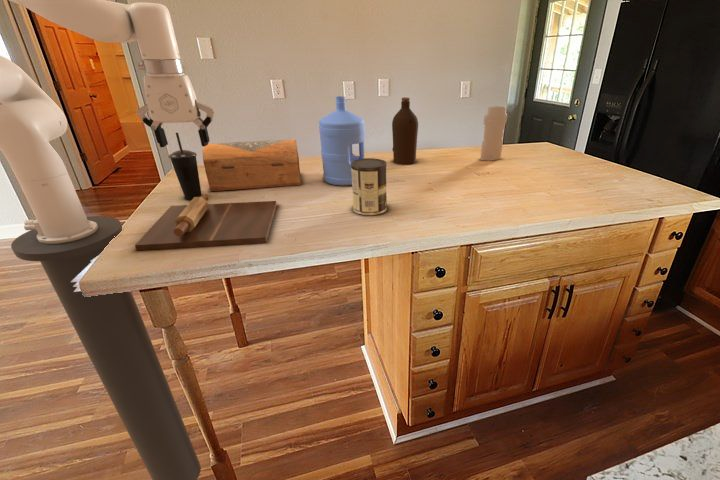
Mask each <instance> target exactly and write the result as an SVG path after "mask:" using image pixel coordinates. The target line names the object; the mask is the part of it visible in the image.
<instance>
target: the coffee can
mask: <svg viewBox="0 0 720 480" xmlns="http://www.w3.org/2000/svg"><path fill="white" fill-rule="evenodd" d="M387 163H388V162H387V161H386V160H384V159H380V158H374V157H373V158H372V157H371V158H369V157H368V158H367V157H366V158H365V159H358V160H354V161H352V162H351V172H352V185H351V187H352V206H353V212H354V213H356V214H358V215H363V216H376V215H382V214H383V213H385V212H386V211H387V210H388V207H387V206H388V205H387V203H388V202H387V165H388V164H387Z"/></svg>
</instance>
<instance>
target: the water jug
mask: <svg viewBox="0 0 720 480" xmlns="http://www.w3.org/2000/svg"><path fill="white" fill-rule="evenodd" d="M346 103H347V102H346V96H335V105H336V109H335V110H334V111H332V112H330V113H328V114H327V115H325V116H323V117H322V118H320V119H319V120H318V131H319V137H320V148H321V149H320V153H321V159H322V176H323V177H322V178H323V181H324V182H326V183H327V184H329V185H333V186H339V187H340V186H342V187H347V186H352V172H351V162H352V161H354V160H358V159H366V158H365V141H366V124H365V119H364V118H362V117H360V116H358V115H356V114H354V113H353V112H351V111H349V110H347V107H346ZM357 144H358V152H359V153H358V154H359V155H355V154H354V153H353V145H357Z"/></svg>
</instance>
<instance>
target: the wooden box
mask: <svg viewBox="0 0 720 480" xmlns="http://www.w3.org/2000/svg"><path fill="white" fill-rule="evenodd" d="M202 147H203V148H202V162H203V167H204V171H205V175H206V178H207V184H208V187H209V191H210V192H218V191H219V192H220V191H232V190H243V189H244V190H246V189H247V190H248V189H260V188H261V189H263V188H275V187H290V186H291V187H292V186H301V185H302V178H301V177H302V176H301V168H300V159H299V158H300V157H299V152H298V145H297V140H296V139H278V140H277V139H272V140H271V139H269V140H268V139H267V140H250V141H249V140H248V141H232V142H219V143H218V142H217V143H208V145H206V146H202Z"/></svg>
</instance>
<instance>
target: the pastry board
mask: <svg viewBox="0 0 720 480" xmlns="http://www.w3.org/2000/svg"><path fill="white" fill-rule="evenodd" d="M277 203H278V202H277V200H265V201H246V202H223V203H222V202H221V203H208V206H209V207H208V209H207V210H206V212H205V213H204V215H203V216H202V217H201V219H200V220H199V222H198V223H197V225H196V226H195V227H194V229H193V230H192V231H191V232H185V233H184V234H183V235H182V236H176V235H175V234H174V232H173V231H174V229H175V228H176V225H175V220H176V219H177V217H178V216H179V215H180V214H181V213H182V211H183V210H184V209H185V208H186V207H187V205H188V204H182V205H180V204H178V205H170V206H169V207H168V209H166V210H165V212H164V213H163V214H162V215H161V216H160V217H159V219H157V220H156V221H155V222H154V224H152V226H151V227H150V228H149V229H148V230H147V231H146V232H145V233H144V235H143V236H142V237H140V239H139V240H138V241H137V242H136V243H135V244H134V247H135V251H137V252H141V251H155V250H169V249H171V250H172V249H186V248H203V247H219V246H233V245H249V244H250V245H251V244H266V243H267V242H268V238H269V235H270V231H271V227H272V224H273V220H274V217H275V214H276V211H277V207H278V204H277Z"/></svg>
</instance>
